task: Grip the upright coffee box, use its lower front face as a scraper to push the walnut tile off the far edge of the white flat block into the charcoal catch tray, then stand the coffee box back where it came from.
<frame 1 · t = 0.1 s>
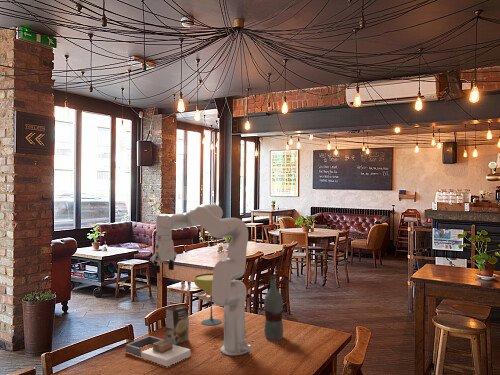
hand: (164, 271, 217), 31 cm above the table, tool pointing down, fingers open, 9 cm apart
coffee box: (177, 341, 204), on the table
bottle: (273, 338, 208), on the table
cocktail glass: (211, 322, 232), on the table
white flat block: (165, 357, 184), on the table
catch tray: (145, 351, 192), on the table
tile: (162, 349, 185), point 3 cm above the table, touching white flat block
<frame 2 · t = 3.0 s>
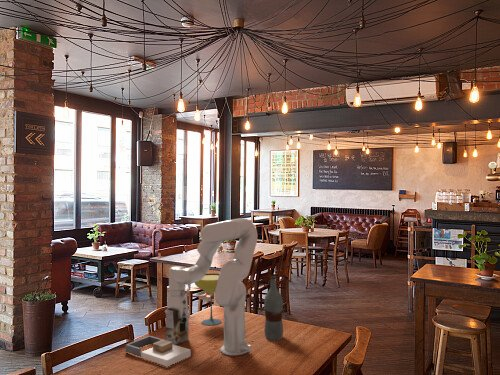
hand: (177, 329, 204), 6 cm above the table, tool pointing down, fingers closed on coffee box, 6 cm apart
coffee box: (177, 341, 204), on the table, touching gripper
everything else where it was.
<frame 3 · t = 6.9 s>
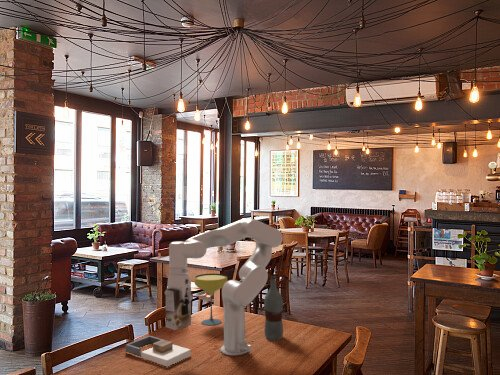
hand: (178, 312, 180), 21 cm above the table, tool pointing down, fingers closed on coffee box, 6 cm apart
coffee box: (178, 326, 180), point 15 cm above the table, touching gripper
everything else where it was.
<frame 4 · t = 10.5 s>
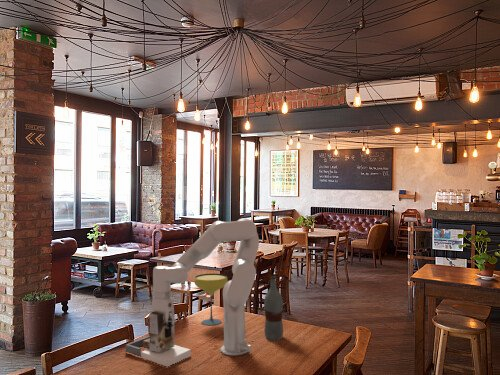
hand: (162, 334, 186), 9 cm above the table, tool pointing down, fingers closed on coffee box, 6 cm apart
coffee box: (162, 348, 185), point 3 cm above the table, touching gripper, tile
tile: (153, 346, 189), point 3 cm above the table, touching coffee box
everything else where it was.
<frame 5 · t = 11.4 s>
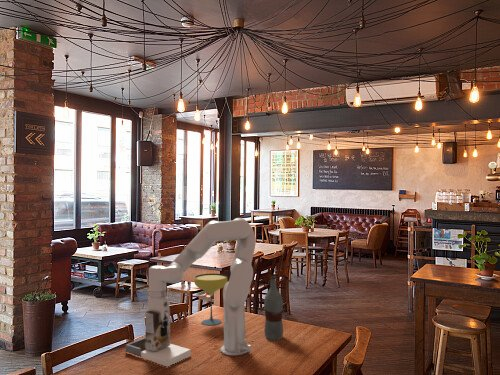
hand: (158, 333, 187), 9 cm above the table, tool pointing down, fingers closed on coffee box, 6 cm apart
coffee box: (158, 347, 187), point 3 cm above the table, touching gripper, tile
tile: (150, 348, 190), point 2 cm above the table, tilted 27°, touching white flat block, coffee box
everything else where it was.
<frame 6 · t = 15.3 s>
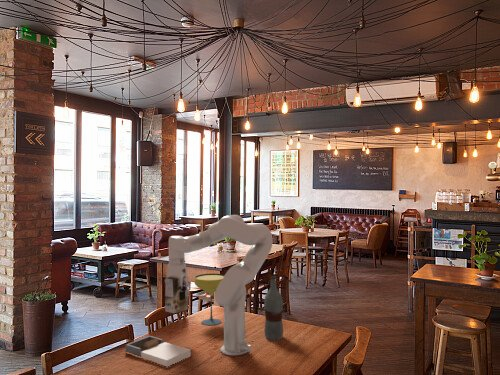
hand: (176, 298, 204), 21 cm above the table, tool pointing down, fingers closed on coffee box, 6 cm apart
coffee box: (176, 310, 204), point 15 cm above the table, touching gripper
tile: (150, 348, 190), point 2 cm above the table, tilted 27°, touching white flat block, catch tray
everything else where it was.
when the fingers open (7 cm above the table, at t = 18.5 s): coffee box stays where it is, on the table.
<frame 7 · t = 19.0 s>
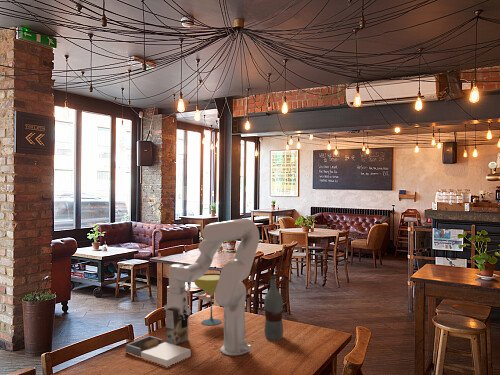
hand: (177, 325, 204), 8 cm above the table, tool pointing down, fingers open, 9 cm apart
coffee box: (177, 341, 204), on the table
everything else where it was.
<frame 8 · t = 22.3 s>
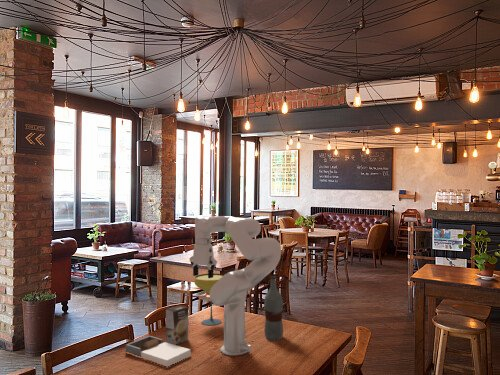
hand: (203, 276, 208), 30 cm above the table, tool pointing down, fingers open, 9 cm apart
nothing on the table moved.
at the end: tile inside the target area on the catch tray (2.9 cm from its centre), point 1.8 cm above the catch tray's base; coffee box tilted 0°; the gripper is holding nothing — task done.
